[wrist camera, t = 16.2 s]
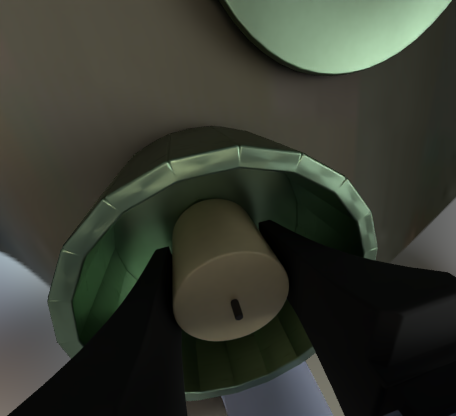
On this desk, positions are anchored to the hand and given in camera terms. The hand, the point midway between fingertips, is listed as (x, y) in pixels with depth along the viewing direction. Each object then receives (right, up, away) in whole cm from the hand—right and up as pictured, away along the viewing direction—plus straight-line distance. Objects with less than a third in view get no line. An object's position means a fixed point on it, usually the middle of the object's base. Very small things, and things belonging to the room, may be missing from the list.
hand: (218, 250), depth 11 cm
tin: (0, +1, +2) cm, 2 cm away
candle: (0, +1, +1) cm, 1 cm away
